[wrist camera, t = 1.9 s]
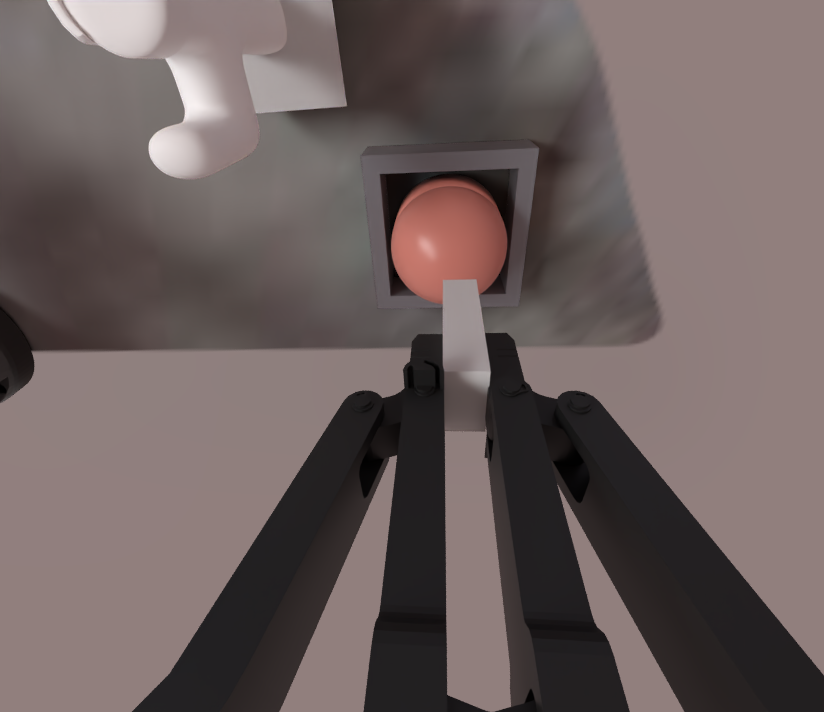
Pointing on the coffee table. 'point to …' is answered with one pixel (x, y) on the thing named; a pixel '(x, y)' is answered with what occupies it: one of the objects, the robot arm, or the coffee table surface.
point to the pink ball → (448, 236)
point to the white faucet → (220, 66)
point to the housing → (450, 158)
